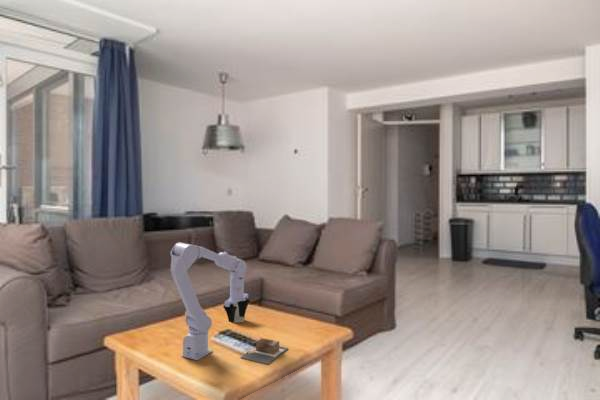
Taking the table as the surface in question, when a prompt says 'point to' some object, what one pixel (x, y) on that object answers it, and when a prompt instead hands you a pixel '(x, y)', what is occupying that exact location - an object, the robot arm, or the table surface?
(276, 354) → the mat
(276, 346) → the banded brown carton
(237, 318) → the skincare box
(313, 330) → the table surface
